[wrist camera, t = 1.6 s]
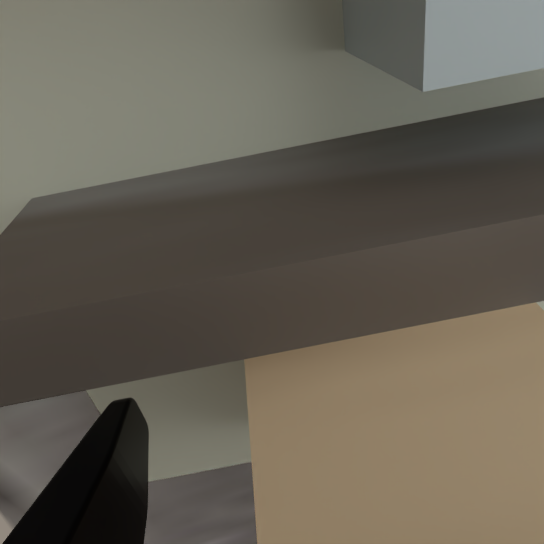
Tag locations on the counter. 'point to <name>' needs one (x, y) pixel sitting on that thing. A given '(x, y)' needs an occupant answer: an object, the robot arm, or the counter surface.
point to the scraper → (320, 319)
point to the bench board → (191, 137)
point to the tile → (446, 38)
